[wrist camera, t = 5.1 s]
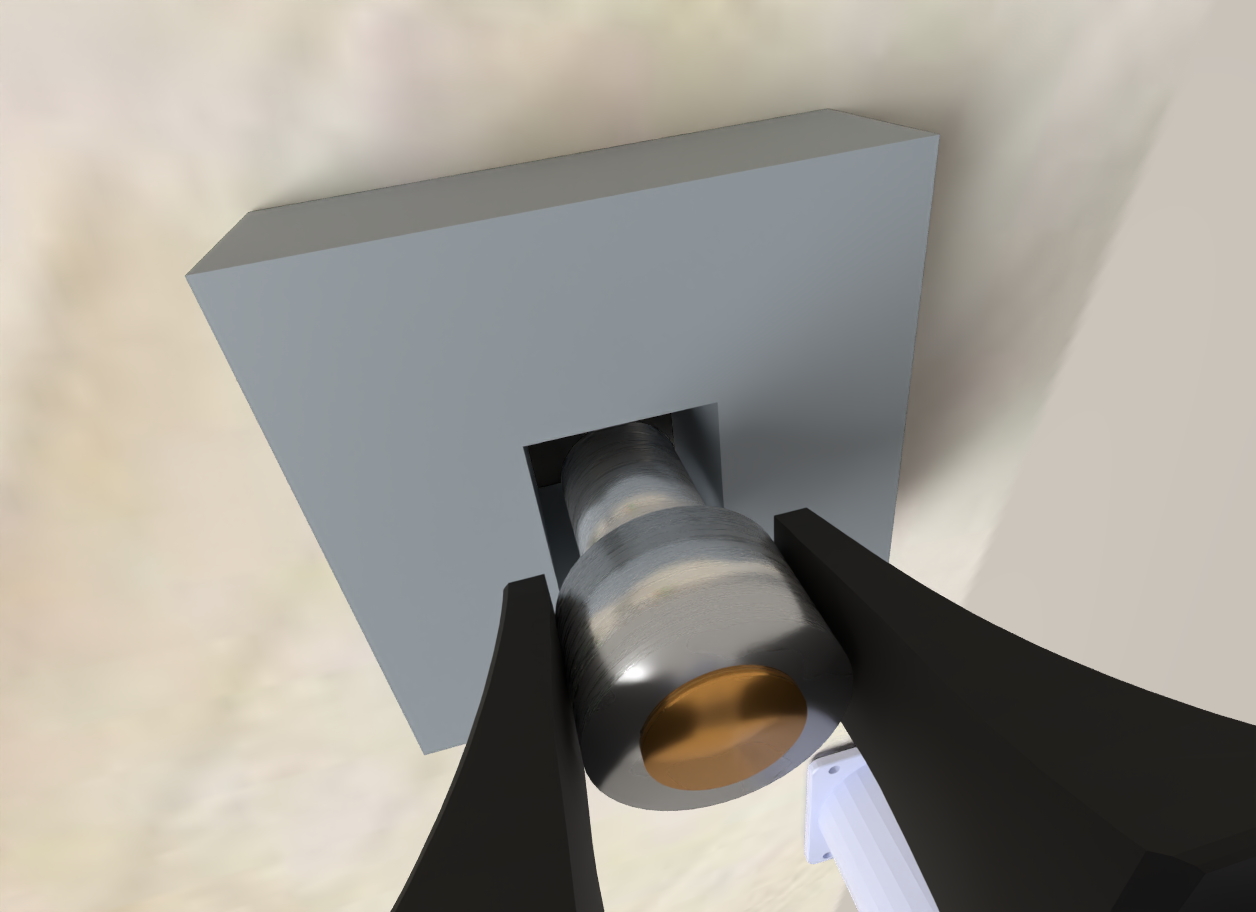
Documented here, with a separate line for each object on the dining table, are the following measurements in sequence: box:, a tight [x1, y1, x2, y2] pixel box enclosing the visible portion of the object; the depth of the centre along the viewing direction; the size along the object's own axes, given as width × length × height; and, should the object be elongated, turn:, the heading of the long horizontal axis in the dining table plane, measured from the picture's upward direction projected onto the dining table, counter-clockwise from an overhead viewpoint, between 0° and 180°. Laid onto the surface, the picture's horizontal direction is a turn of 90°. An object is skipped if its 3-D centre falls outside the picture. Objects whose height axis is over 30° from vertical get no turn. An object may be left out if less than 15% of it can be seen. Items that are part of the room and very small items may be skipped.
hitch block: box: [185, 109, 940, 755], centre depth 16 cm, size 12×12×4 cm
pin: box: [555, 422, 853, 811], centre depth 12 cm, size 4×4×7 cm
